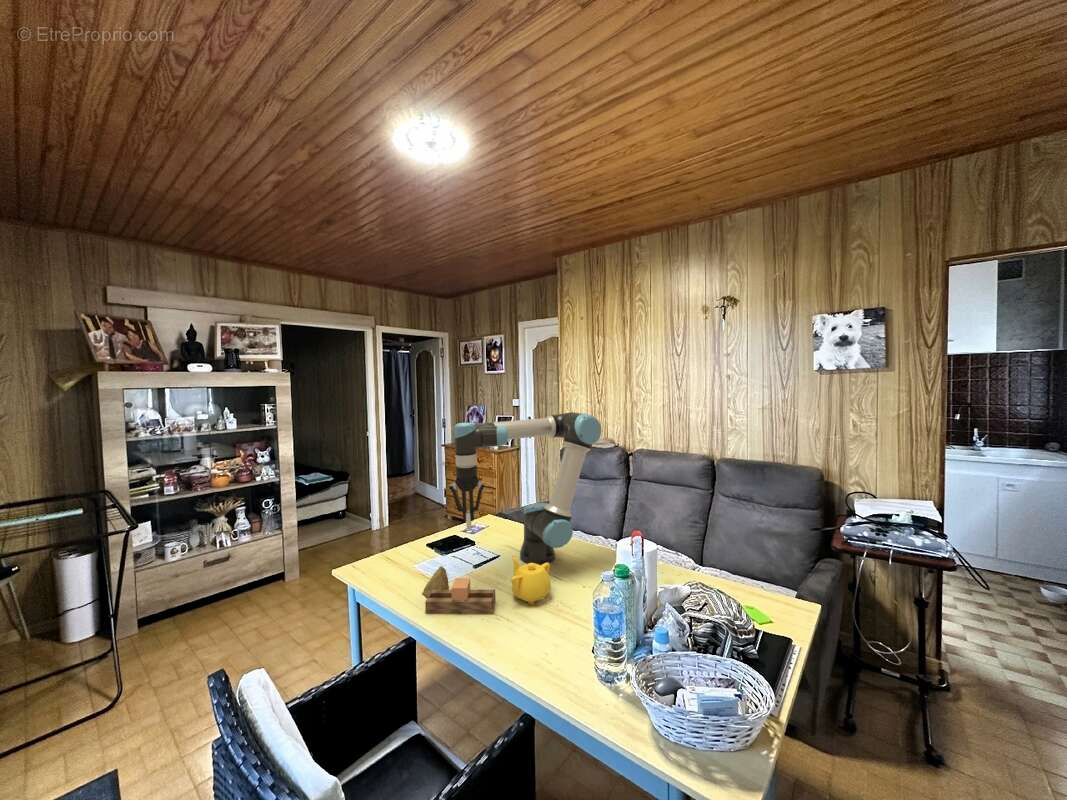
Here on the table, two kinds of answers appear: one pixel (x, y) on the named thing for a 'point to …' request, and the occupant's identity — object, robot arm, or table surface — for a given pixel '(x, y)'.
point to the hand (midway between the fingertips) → (469, 529)
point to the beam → (460, 602)
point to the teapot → (530, 581)
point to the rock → (437, 582)
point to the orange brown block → (461, 589)
